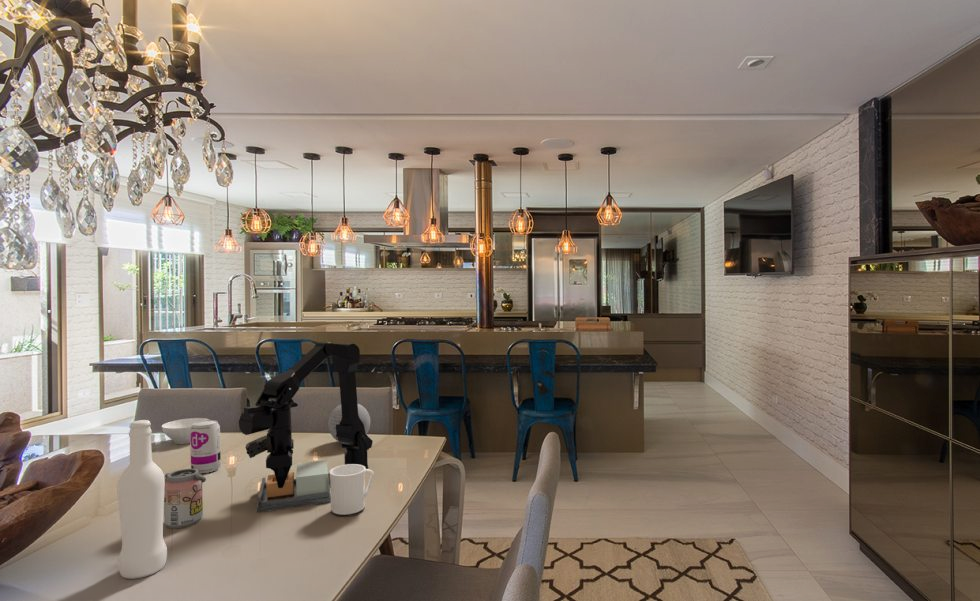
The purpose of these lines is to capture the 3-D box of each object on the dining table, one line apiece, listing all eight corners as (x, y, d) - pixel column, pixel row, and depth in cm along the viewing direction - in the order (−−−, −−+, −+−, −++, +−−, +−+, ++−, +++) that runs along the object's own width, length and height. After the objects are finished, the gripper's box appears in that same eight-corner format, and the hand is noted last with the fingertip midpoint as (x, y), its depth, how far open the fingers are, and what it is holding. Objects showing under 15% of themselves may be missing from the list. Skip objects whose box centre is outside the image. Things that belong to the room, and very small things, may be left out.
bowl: (195, 447, 190) (195, 428, 190) (151, 447, 191) (151, 428, 190) (218, 435, 206) (218, 417, 206) (178, 435, 207) (178, 418, 206)
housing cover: (326, 479, 151) (326, 460, 151) (328, 494, 140) (328, 473, 140) (297, 483, 149) (297, 463, 148) (296, 499, 137) (296, 477, 137)
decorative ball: (320, 444, 192) (319, 403, 192) (355, 435, 204) (354, 396, 203) (344, 451, 182) (343, 408, 182) (379, 442, 194) (378, 401, 194)
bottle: (134, 560, 109) (130, 416, 108) (175, 558, 110) (171, 415, 109) (109, 582, 101) (105, 426, 100) (153, 579, 101) (149, 425, 101)
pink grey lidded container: (180, 512, 133) (179, 465, 132) (213, 512, 132) (212, 465, 132) (155, 529, 123) (154, 478, 123) (190, 529, 123) (189, 478, 123)
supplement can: (208, 475, 160) (207, 426, 160) (184, 474, 162) (183, 425, 162) (226, 466, 168) (225, 420, 168) (204, 465, 170) (203, 419, 170)
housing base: (328, 481, 153) (328, 464, 153) (330, 502, 138) (330, 482, 138) (261, 490, 147) (261, 471, 147) (256, 512, 132) (256, 492, 132)
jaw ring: (294, 484, 146) (293, 472, 146) (293, 493, 140) (293, 481, 139) (268, 487, 144) (268, 475, 144) (266, 497, 137) (266, 484, 137)
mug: (329, 519, 127) (329, 477, 127) (330, 505, 136) (329, 466, 136) (375, 513, 130) (375, 472, 130) (373, 500, 139) (372, 461, 139)
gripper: (250, 420, 147) (252, 476, 148) (243, 438, 130) (244, 500, 130) (293, 417, 151) (294, 471, 151) (291, 433, 134) (292, 494, 134)
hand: (281, 483), depth 142 cm, fingers closed on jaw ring, 7 cm apart
